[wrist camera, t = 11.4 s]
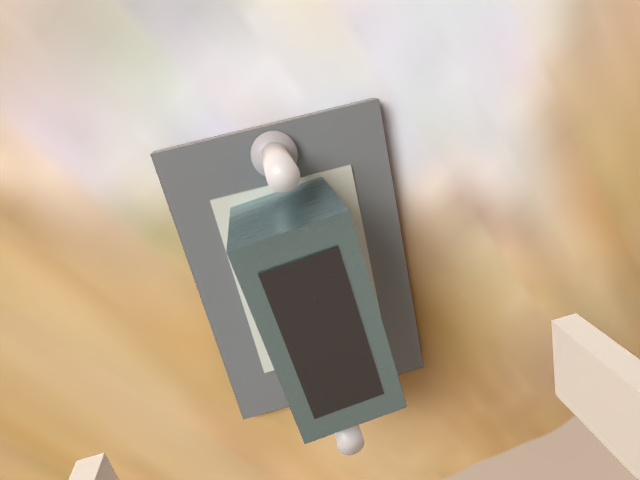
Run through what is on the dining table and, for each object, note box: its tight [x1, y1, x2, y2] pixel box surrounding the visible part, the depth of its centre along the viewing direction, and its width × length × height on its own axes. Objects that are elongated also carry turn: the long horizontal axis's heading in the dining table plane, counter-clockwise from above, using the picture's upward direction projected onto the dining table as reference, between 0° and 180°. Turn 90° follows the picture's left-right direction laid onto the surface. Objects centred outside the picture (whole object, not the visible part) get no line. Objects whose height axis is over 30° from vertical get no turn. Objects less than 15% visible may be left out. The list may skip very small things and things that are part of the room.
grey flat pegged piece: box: [150, 98, 423, 455], centre depth 29 cm, size 14×20×8 cm
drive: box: [226, 177, 407, 444], centre depth 27 cm, size 6×12×8 cm, turn 17°
